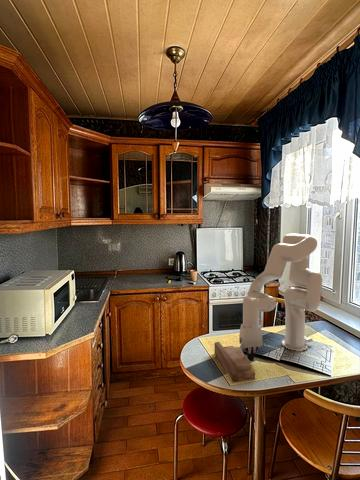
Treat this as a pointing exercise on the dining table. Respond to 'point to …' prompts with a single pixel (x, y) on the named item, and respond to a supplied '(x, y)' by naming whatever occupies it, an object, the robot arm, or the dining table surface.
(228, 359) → the block
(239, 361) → the brick
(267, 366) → the dining table surface
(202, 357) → the dining table surface
